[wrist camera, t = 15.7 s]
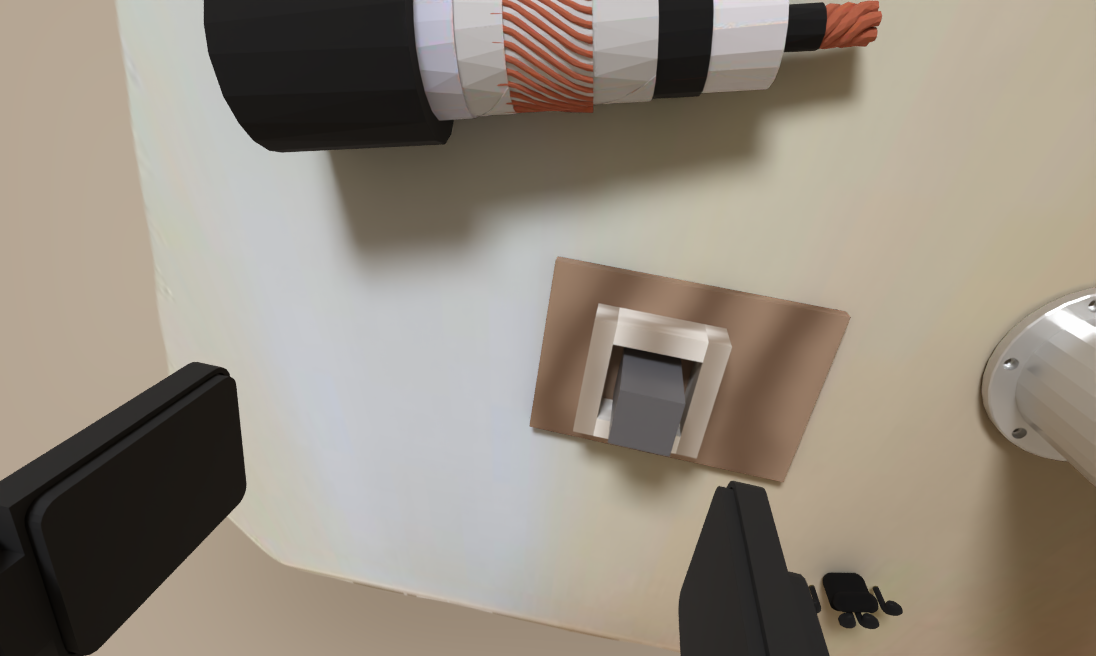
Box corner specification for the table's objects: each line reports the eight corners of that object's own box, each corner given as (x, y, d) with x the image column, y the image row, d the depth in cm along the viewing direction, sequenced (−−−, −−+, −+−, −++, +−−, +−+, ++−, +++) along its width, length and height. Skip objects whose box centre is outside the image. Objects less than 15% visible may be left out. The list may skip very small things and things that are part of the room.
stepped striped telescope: (818, 70, 37) (868, 160, 31) (320, 98, 40) (272, 186, 33) (874, -120, 29) (957, -51, 23) (252, -71, 32) (173, 3, 26)
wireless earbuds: (796, 581, 49) (811, 634, 44) (796, 559, 48) (811, 610, 43) (886, 583, 47) (911, 637, 43) (888, 560, 46) (914, 613, 42)
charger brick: (680, 353, 41) (685, 404, 34) (666, 400, 42) (669, 456, 36) (625, 341, 41) (620, 390, 35) (614, 388, 43) (607, 442, 36)
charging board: (845, 311, 39) (866, 336, 35) (780, 474, 45) (792, 509, 41) (557, 256, 40) (548, 274, 37) (531, 419, 46) (521, 448, 43)
